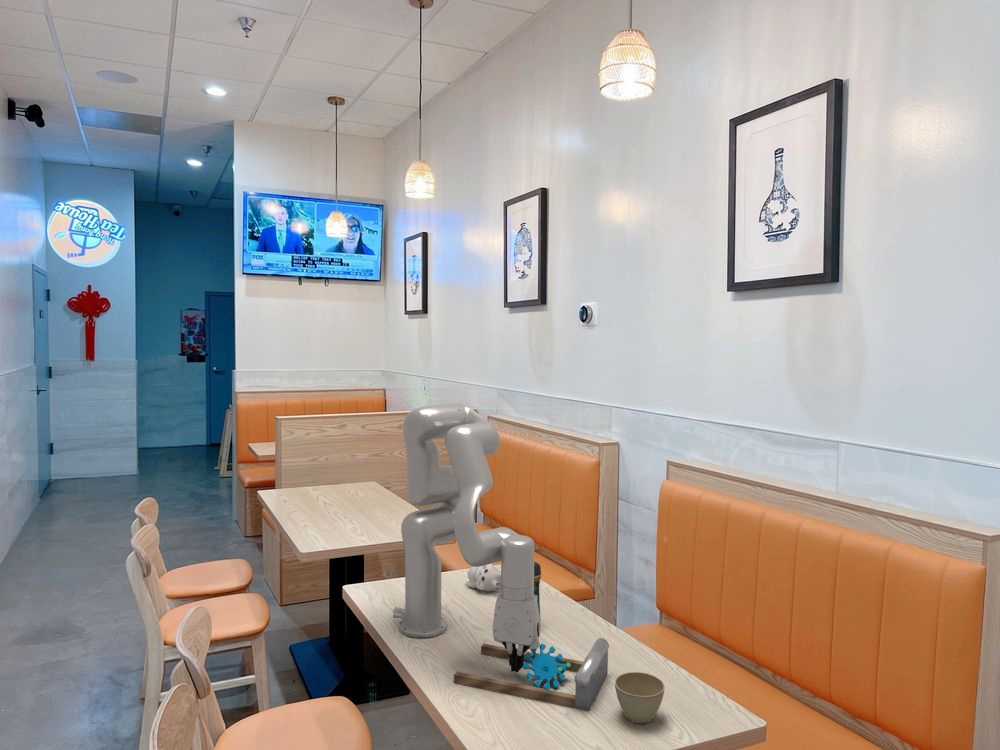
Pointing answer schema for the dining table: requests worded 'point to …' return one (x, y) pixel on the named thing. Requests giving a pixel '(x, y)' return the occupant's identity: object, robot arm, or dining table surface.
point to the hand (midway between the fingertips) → (516, 669)
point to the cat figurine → (484, 577)
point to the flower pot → (639, 695)
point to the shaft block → (591, 675)
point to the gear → (545, 667)
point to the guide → (516, 688)
